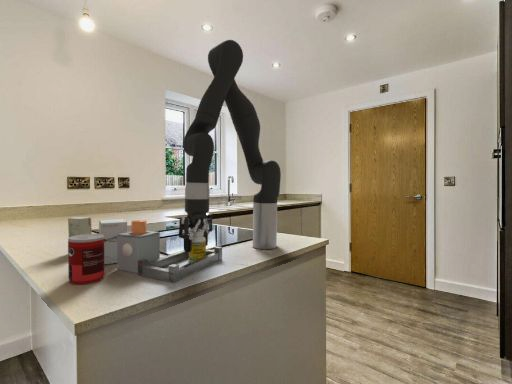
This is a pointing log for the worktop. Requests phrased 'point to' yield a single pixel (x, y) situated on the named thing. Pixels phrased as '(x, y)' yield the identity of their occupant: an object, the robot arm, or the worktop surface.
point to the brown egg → (138, 227)
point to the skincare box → (79, 226)
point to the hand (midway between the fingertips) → (196, 248)
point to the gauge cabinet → (137, 249)
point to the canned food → (86, 258)
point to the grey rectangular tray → (175, 272)
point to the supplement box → (111, 237)
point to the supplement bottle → (198, 246)
